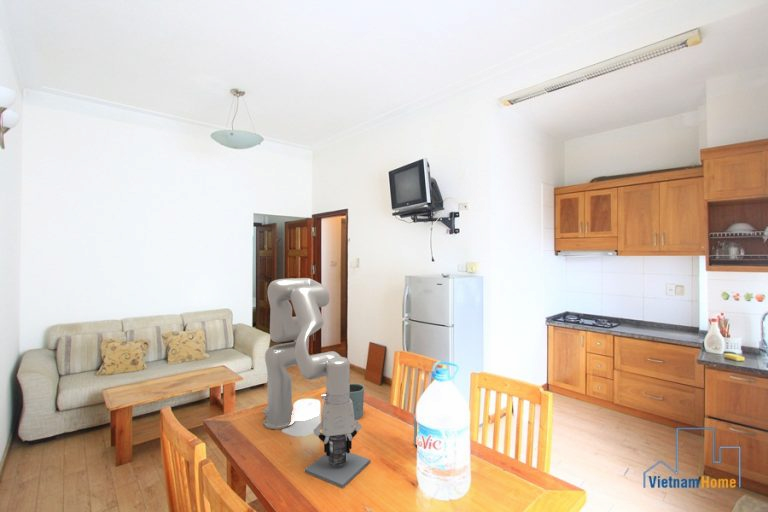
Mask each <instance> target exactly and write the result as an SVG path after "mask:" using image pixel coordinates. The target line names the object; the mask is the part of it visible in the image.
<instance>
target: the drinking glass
mask: <svg viewBox="0 0 768 512" xmlns="http://www.w3.org/2000/svg"><path fill="white" fill-rule="evenodd" d="M364 394H365V386H364V385H363V384H360V383H353V382H352V383H350V399H351V400H352V403H353V410H354V419H355V420H356V421H357V420H360V419H362V417H363V415H364V401H365V400H364V396H365V395H364Z"/></svg>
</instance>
